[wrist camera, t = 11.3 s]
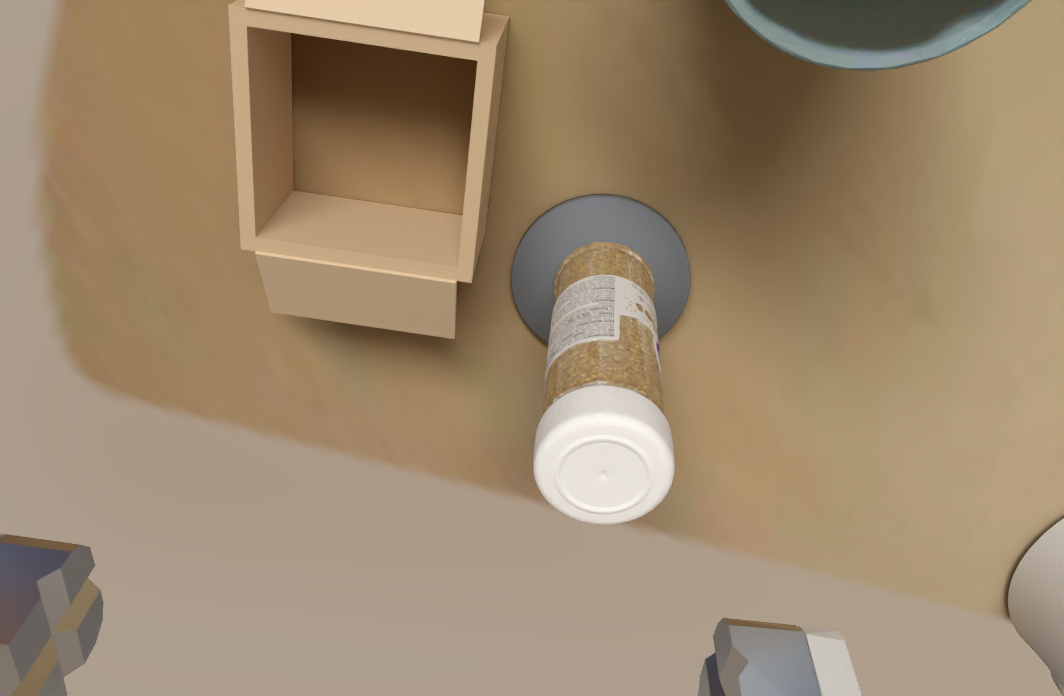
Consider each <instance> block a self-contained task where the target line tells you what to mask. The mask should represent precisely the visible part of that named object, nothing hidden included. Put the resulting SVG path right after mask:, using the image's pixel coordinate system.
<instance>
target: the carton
mask: <svg viewBox="0 0 1064 696" xmlns="http://www.w3.org/2000/svg"><path fill="white" fill-rule="evenodd" d="M484 7H485V0H237V1H235V2H233V3H232V4H230V5H228V8H229V28H230V47H231V66H232V86H233V105H234V124H235V143H236V163H237V182H238V201H239V221H240V240H241V249H244V250H251V251H256V253H255V256H256V259H257V263H258V266H259V270H260V274H261V277H262V281H263V284H264V288H265V291H266V295H267V299H268V302H269V306H270V309H271V312H273V313H280V314H287V315H293V316H300V317H307V318H314V319H321V320H328V321H334V322H341V323H348V324H355V325H362V326H369V327H375V328H382V329H389V330H396V331H403V332H409V333H416V334H423V335H430V336H437V337H444V338H450V339H455V334H456V303H457V281H461V282H468V283H472V280H473V276H474V272H475V269H476V265H477V261H478V258H479V254H480V250H481V247H482V243H483V239H484V236H485V232H486V224H487V215H488V206H489V197H490V188H491V179H492V170H493V161H494V152H495V143H496V134H497V125H498V116H499V107H500V98H501V89H502V80H503V71H504V62H505V53H506V44H507V35H508V26H509V17H510V16H504V15H497V14H491V13H484ZM291 33H296V34H303V35H309V36H316V37H323V38H329V39H336V40H343V41H349V42H356V43H363V44H369V45H376V46H383V47H389V48H396V49H403V50H409V51H416V52H422V53H429V54H436V55H442V56H449V57H456V58H462V59H469V60H476V61H477V71H476V81H475V92H474V102H473V113H472V124H471V134H470V145H469V155H468V166H467V176H466V187H465V197H464V208H463V215H456V214H449V213H442V212H436V211H429V210H422V209H415V208H409V207H402V206H395V205H388V204H382V203H375V202H368V201H361V200H355V199H348V198H341V197H334V196H328V195H321V194H314V193H307V192H301V191H294V178H293V115H292V52H291Z"/></svg>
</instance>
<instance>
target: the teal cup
mask: <svg viewBox="0 0 1064 696" xmlns="http://www.w3.org/2000/svg"><path fill="white" fill-rule="evenodd" d="M725 1H726V3H727V4H728V5H729V7H730V8H731V10H732V11H733V12H734V13H735V14H736V15H737V16H738V17H739V18H740V19H741V20H742V21H743V22H744V23H745V24H746V25H747V26H748V27H749V28H750V29H751V30H752V31H753V32H754V33H755V34H756V35H758V36H759V37H761V38H762V39H764V40H765V41H766V42H768V43H769V44H771V45H772V46H774V47H776V48H777V49H779V50H781V51H783V52H785V53H787V54H789V55H791V56H794V57H796V58H798V59H800V60H803V61H806V62H810V63H813V64H816V65H819V66H824V67H829V68H833V69H846V70H863V71H874V70H884V69H894V68H901V67H905V66H909V65H913V64H918V63H922V62H926V61H929V60H932V59H935V58H938V57H941V56H943V55H946V54H948V53H950V52H952V51H955V50H957V49H959V48H961V47H964V46H966V45H968V44H969V43H971V42H973V41H975V40H976V39H978V38H980V37H981V36H983V35H985V34H987V33H988V32H990V31H992V30H993V29H995V28H997V27H998V26H1000V25H1001V24H1002V23H1004V22H1005V21H1006V20H1007V19H1009V18H1010V17H1011V16H1012V15H1014V14H1015V13H1016V12H1018V11H1019V10H1020V9H1021V8H1023V7H1024V6H1025V5H1026V4H1028V3H1029V2H1030V1H1031V0H725Z"/></svg>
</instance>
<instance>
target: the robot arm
mask: <svg viewBox="0 0 1064 696" xmlns="http://www.w3.org/2000/svg"><path fill="white" fill-rule="evenodd" d="M94 566H95V563H94V560H93V556H92V553H91V549H90V547H87V546H83V545H78V544H71V543H64V542H57V541H50V540H43V539H36V538H29V537H21V536H15V535H8V534H0V696H66V695H67V691H66V687H65V682H64V677H65V676H66V675H68V674H69V673H71V672H72V671H74V670H76V669H77V668H79V667H80V666H81V665H83V664H85V662H86V660H87V658H88V657H89V655H90V653H91V651H92V649H93V647H94V645H95V643H96V640H97V637H98V634H99V630H100V627H101V623H102V620H103V618H102V617H103V600H102V595H101V590H100V589H99V588H98V587H97V586H96V585H95V584H94V583H92V581H90V580H89V579H88V576H89V575H90V573H91V571H92V570H93V568H94ZM1008 609H1009V614H1010V618H1011V620H1012V623H1013V625H1014V627H1015V629H1016V630H1017V632H1018V633H1019V635H1020V636H1021V637H1022V638H1023V639H1024V640H1025V642H1026V643H1027V644H1028V645H1029V646H1030V647H1031V648H1032V649H1033V650H1034V651H1035V652H1036V653H1037V654H1038V655H1039V657H1040V658H1041V659H1042V660H1043V661H1044V662H1045V664H1046V665H1047V666H1048V668H1049V669H1050V671H1051V675H1052V678H1053V680H1054V682H1055V684H1056V686H1057V687H1058V689H1059V690H1060V691H1061V693H1062V694H1063V696H1064V518H1063V519H1062V520H1061V521H1059V522H1058V523H1056V524H1055V525H1054V526H1053V527H1051V528H1050V529H1049V530H1048V531H1047V532H1046V533H1044V534H1043V535H1042V536H1041V537H1040V538H1039V539H1038V540H1037V541H1036V542H1035V543H1034V544H1033V546H1032V547H1031V548H1030V549H1029V550H1028V552H1027V553H1026V554H1025V555H1024V557H1023V558H1022V560H1021V561H1020V563H1019V565H1018V567H1017V569H1016V570H1015V573H1014V575H1013V577H1012V580H1011V583H1010V587H1009V593H1008ZM713 639H714V646H715V652H716V653H714V654H713V655H711V656H709V657H708V658H706V659H705V662H704V665H703V669H702V672H701V675H700V683H699V692H698V696H862V693H861V690H860V687H859V684H858V680H857V677H856V674H855V671H854V668H853V665H852V662H851V659H850V656H849V652H848V649H847V647H846V643H845V640H844V637H843V636H842V635H841V634H840V633H839V631H837V630H827V629H819V628H810V627H801V626H799V627H797V626H796V625H787V624H777V623H767V622H758V621H748V620H739V619H729V618H722V619H721V621H720V622H719V623H718V625H717V627H716V630H715V633H714V636H713Z"/></svg>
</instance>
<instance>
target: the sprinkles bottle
mask: <svg viewBox="0 0 1064 696" xmlns="http://www.w3.org/2000/svg"><path fill="white" fill-rule="evenodd" d="M654 282H655V280H654V277H653V274H652V271H651V269H650V267H649V265H648V264H647V263H646V261H645V260H644V259H643V258H642V257H641V256H640V255H639V253H638V252H636V251H634V250H632V249H631V248H629V247H627V246H625V245H621V244H618V243H612V242H593V243H590V244H588V245H585V246H582V247H580V248H578V249H576V250H574V251H573V252H571V253H570V254H569V255H568V256H567V257H566V258H565V259H564V260H563V261H562V263H561V265H560V267H559V268H558V270H557V273H556V276H555V281H554V293H555V305H554V308H553V312H552V319H551V328H550V336H549V345H548V354H547V363H546V373H545V382H544V385H545V400H544V411H543V416H542V418H541V420H540V422H539V424H538V428H537V431H536V437H535V445H534V461H533V471H534V477H535V481H536V483H537V486H538V488H539V490H540V492H541V493H542V495H543V496H544V498H545V499H546V500H547V501H548V502H549V503H550V504H551V505H552V506H553V507H554V508H555V509H557V510H558V511H560V512H561V513H563V514H565V515H566V516H568V517H571V518H573V519H575V520H579V521H583V522H586V523H591V524H599V525H610V524H619V523H624V522H628V521H631V520H634V519H637V518H639V517H641V516H643V515H645V514H647V513H648V512H650V511H651V510H653V509H654V508H655V507H656V506H657V505H658V504H659V503H660V502H661V501H662V500H663V499H664V497H665V496H666V494H667V493H668V491H669V489H670V487H671V484H672V482H673V478H674V471H675V466H674V450H673V441H672V434H671V430H670V427H669V424H668V422H667V420H666V418H665V416H664V411H663V400H662V390H661V382H662V375H661V364H660V353H659V342H658V329H657V318H656V312H655V308H654V301H653V299H654V295H655V283H654Z"/></svg>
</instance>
